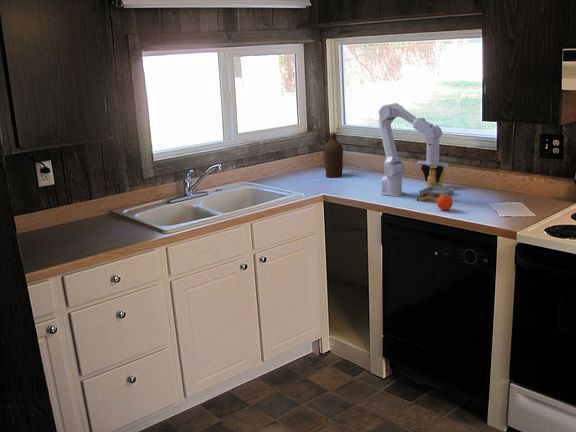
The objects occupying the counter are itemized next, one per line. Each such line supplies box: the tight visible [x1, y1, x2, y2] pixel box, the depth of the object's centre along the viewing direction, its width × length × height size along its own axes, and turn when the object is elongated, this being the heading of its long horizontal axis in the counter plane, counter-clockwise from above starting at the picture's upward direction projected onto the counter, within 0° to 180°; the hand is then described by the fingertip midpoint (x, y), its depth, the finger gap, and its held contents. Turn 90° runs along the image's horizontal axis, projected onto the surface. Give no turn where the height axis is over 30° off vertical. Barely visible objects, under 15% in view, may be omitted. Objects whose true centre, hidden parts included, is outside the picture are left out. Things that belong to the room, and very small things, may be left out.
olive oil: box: [323, 131, 344, 179], centre depth 355 cm, size 11×11×25 cm
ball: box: [427, 174, 436, 183], centre depth 293 cm, size 5×5×5 cm
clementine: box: [436, 195, 454, 211], centre depth 277 cm, size 8×7×7 cm
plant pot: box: [426, 166, 446, 188], centre depth 319 cm, size 10×10×10 cm
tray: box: [416, 193, 441, 204], centre depth 295 cm, size 11×9×2 cm
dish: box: [418, 186, 454, 196], centre depth 305 cm, size 12×12×2 cm
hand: (432, 181), depth 293 cm, fingers closed on ball, 4 cm apart
